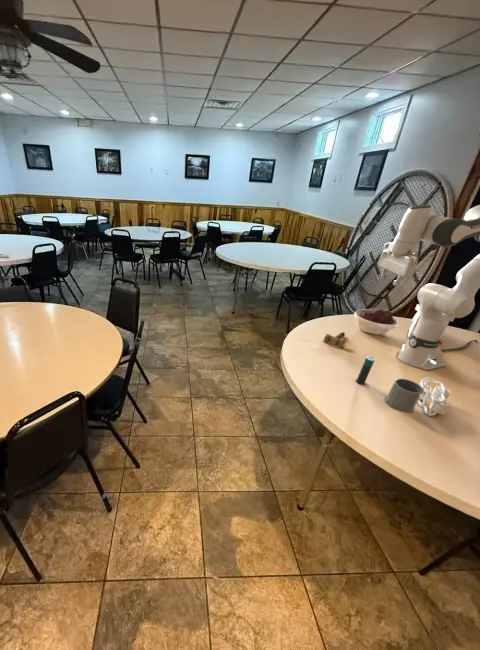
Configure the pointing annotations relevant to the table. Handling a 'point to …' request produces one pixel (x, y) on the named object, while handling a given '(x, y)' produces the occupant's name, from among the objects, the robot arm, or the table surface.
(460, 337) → the table surface
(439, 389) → the white cage
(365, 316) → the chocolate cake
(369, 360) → the marker pen
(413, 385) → the pen pot
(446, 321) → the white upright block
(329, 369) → the table surface
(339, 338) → the gavel
